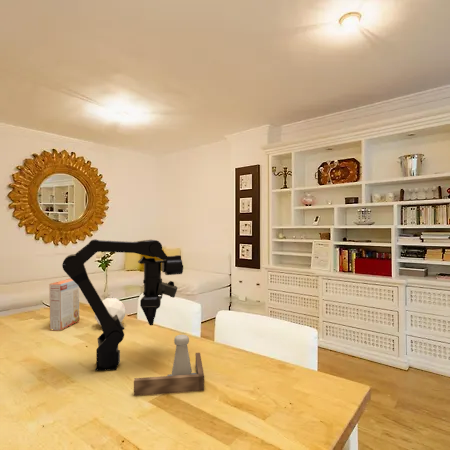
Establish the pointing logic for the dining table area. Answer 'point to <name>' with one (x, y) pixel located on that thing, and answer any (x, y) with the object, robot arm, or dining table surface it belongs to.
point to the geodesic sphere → (114, 308)
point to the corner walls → (171, 382)
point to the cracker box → (64, 304)
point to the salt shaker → (181, 356)
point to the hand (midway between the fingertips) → (152, 321)
